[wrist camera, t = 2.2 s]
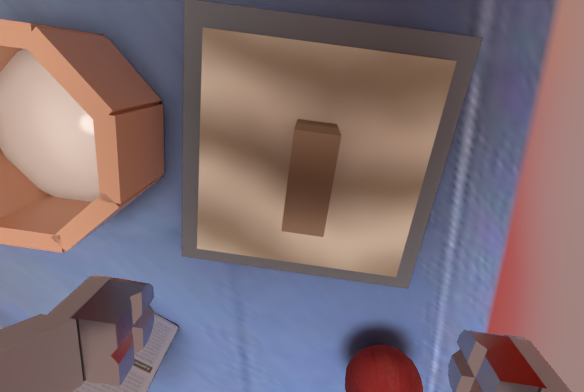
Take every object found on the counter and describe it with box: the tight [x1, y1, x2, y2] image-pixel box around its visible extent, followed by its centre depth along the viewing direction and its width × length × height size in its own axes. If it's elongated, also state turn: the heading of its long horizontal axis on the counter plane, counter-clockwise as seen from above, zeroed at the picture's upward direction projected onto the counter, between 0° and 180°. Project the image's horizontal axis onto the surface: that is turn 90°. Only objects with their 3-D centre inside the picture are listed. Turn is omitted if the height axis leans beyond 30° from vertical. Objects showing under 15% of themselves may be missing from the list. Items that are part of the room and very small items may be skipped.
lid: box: [197, 28, 457, 277], centre depth 21 cm, size 15×15×5 cm
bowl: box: [0, 19, 164, 253], centre depth 21 cm, size 13×13×6 cm
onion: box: [345, 344, 423, 392], centre depth 26 cm, size 6×6×8 cm
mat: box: [182, 0, 483, 289], centre depth 24 cm, size 18×18×1 cm
